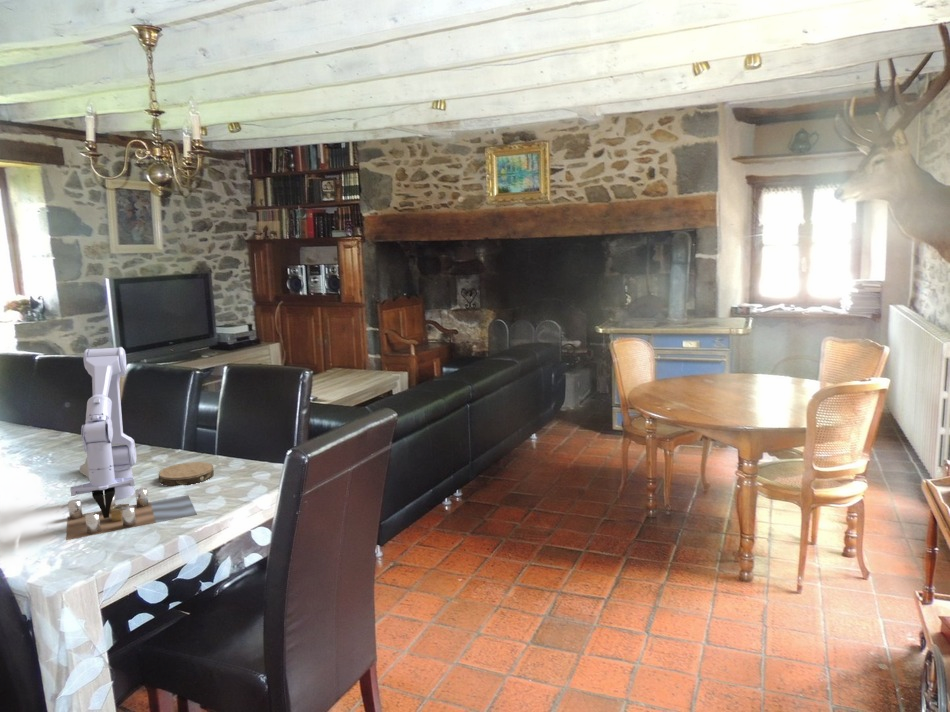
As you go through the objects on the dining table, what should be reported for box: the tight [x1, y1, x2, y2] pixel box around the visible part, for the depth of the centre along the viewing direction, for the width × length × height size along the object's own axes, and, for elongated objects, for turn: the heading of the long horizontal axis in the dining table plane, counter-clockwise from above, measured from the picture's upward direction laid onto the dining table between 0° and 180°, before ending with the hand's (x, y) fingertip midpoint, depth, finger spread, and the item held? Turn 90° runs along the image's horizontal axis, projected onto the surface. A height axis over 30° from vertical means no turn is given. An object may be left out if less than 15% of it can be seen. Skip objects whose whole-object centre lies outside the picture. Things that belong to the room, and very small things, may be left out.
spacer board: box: [65, 494, 198, 541], centre depth 181 cm, size 18×30×1 cm, turn 120°
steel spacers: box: [67, 487, 150, 535], centre depth 178 cm, size 17×19×4 cm
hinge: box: [78, 457, 89, 479], centre depth 221 cm, size 17×5×10 cm, turn 45°
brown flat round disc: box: [158, 461, 215, 487], centre depth 214 cm, size 16×16×3 cm
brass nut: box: [111, 503, 130, 521], centre depth 180 cm, size 5×4×3 cm
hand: (106, 516), depth 178 cm, fingers closed
